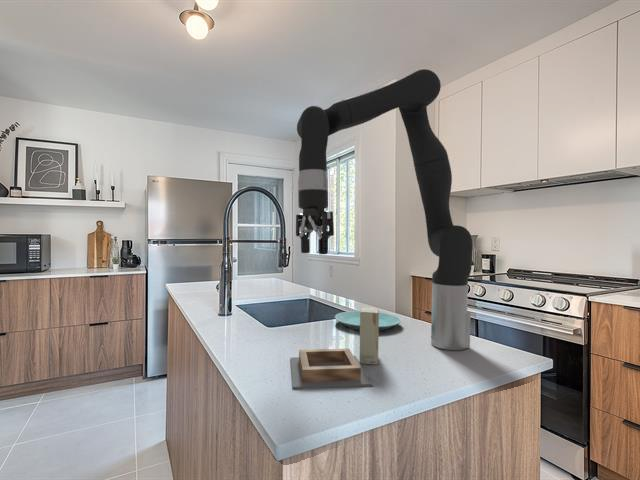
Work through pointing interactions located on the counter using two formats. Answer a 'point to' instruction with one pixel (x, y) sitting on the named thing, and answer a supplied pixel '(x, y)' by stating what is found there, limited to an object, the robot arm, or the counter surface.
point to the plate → (353, 320)
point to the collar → (328, 372)
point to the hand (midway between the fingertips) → (313, 253)
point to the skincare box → (369, 335)
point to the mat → (299, 384)
